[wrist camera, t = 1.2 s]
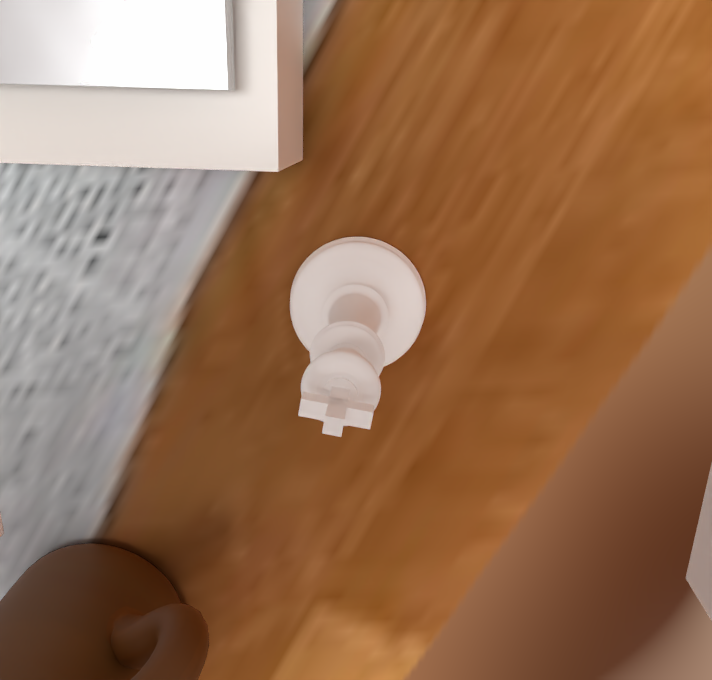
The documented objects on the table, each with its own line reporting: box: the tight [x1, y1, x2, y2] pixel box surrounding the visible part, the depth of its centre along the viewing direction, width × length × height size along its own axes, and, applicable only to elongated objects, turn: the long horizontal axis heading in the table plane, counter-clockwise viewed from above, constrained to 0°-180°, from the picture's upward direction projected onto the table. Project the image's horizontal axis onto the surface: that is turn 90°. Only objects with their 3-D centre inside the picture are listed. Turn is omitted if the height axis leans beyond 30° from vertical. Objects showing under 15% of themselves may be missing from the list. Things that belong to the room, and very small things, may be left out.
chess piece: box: [290, 237, 426, 437], centre depth 19 cm, size 5×5×10 cm
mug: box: [0, 544, 209, 680], centre depth 24 cm, size 12×8×9 cm, turn 127°
